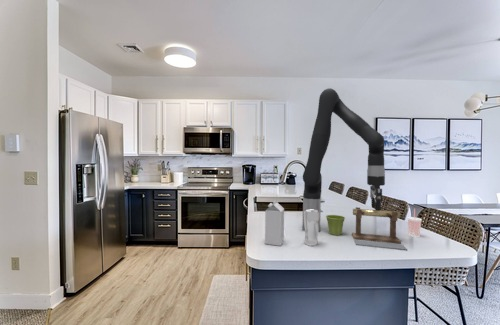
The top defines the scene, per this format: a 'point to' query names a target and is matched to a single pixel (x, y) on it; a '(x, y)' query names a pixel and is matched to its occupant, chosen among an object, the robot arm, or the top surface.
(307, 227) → the beer glass
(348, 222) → the top surface
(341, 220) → the plant pot
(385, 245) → the slate mat
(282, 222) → the milk carton
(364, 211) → the brass rail
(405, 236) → the top surface
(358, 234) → the hook stand
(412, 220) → the beverage cup
